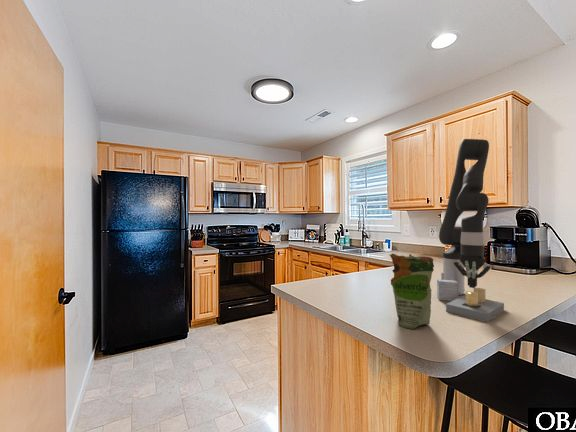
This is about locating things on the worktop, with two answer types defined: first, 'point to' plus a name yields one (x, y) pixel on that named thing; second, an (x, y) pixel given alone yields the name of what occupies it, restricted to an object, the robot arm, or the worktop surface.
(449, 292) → the medicine box
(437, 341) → the worktop surface
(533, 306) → the worktop surface
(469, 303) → the brass bushing
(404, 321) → the pouch
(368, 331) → the worktop surface
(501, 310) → the jig plate
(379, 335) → the worktop surface
